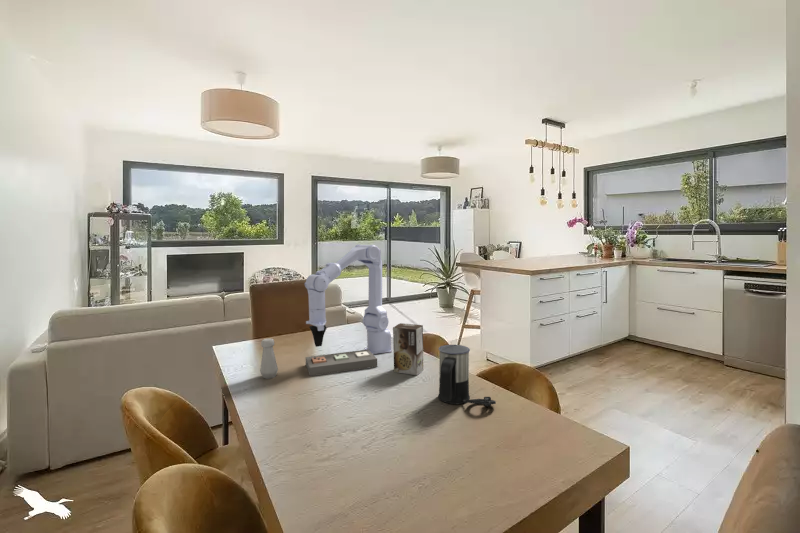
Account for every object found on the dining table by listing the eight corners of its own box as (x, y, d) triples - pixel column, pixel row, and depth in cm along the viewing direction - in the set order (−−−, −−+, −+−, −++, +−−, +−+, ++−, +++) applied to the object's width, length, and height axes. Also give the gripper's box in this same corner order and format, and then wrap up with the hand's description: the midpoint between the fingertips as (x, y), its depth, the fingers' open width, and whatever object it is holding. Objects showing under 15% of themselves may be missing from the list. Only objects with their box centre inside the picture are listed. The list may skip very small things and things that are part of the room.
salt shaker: (281, 374, 134) (280, 337, 132) (271, 380, 128) (269, 342, 127) (267, 372, 136) (266, 336, 134) (256, 378, 130) (254, 340, 129)
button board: (368, 356, 151) (368, 349, 151) (377, 366, 140) (377, 358, 140) (305, 364, 143) (305, 357, 143) (310, 376, 132) (309, 367, 131)
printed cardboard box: (424, 369, 137) (423, 324, 135) (417, 375, 131) (416, 329, 129) (400, 366, 141) (400, 322, 139) (392, 372, 135) (392, 326, 133)
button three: (324, 362, 141) (324, 355, 141) (326, 366, 137) (326, 359, 137) (312, 364, 140) (311, 357, 140) (313, 368, 136) (313, 361, 136)
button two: (345, 360, 144) (345, 353, 144) (348, 363, 140) (348, 356, 140) (334, 361, 143) (333, 354, 142) (336, 365, 139) (336, 358, 138)
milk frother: (438, 390, 119) (438, 343, 117) (490, 392, 117) (491, 344, 116) (438, 412, 104) (438, 359, 103) (497, 414, 103) (498, 360, 102)
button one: (366, 357, 147) (366, 350, 147) (369, 361, 143) (369, 354, 143) (355, 358, 145) (355, 352, 145) (358, 362, 141) (357, 355, 141)
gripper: (303, 305, 142) (304, 341, 143) (308, 313, 129) (309, 353, 130) (322, 304, 145) (323, 339, 146) (329, 311, 131) (330, 350, 132)
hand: (318, 345), depth 138 cm, fingers closed
